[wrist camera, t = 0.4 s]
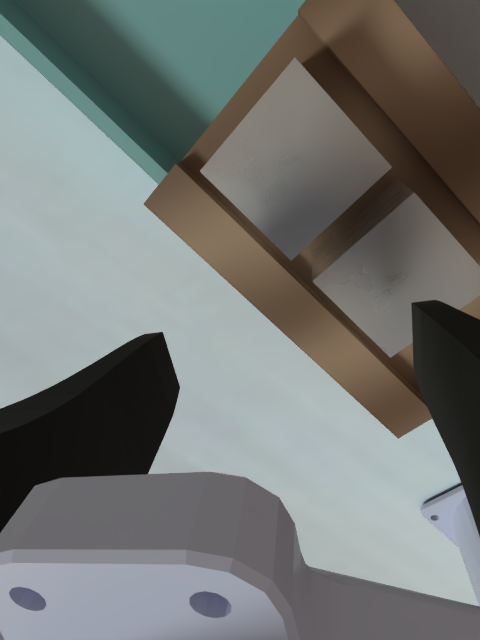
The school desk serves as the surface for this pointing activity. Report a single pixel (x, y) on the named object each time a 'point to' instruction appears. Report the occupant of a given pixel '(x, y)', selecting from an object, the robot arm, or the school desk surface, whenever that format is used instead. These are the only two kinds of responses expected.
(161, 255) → the school desk surface
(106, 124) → the tray
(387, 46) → the channel block
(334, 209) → the light grey block
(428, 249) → the grey square block
